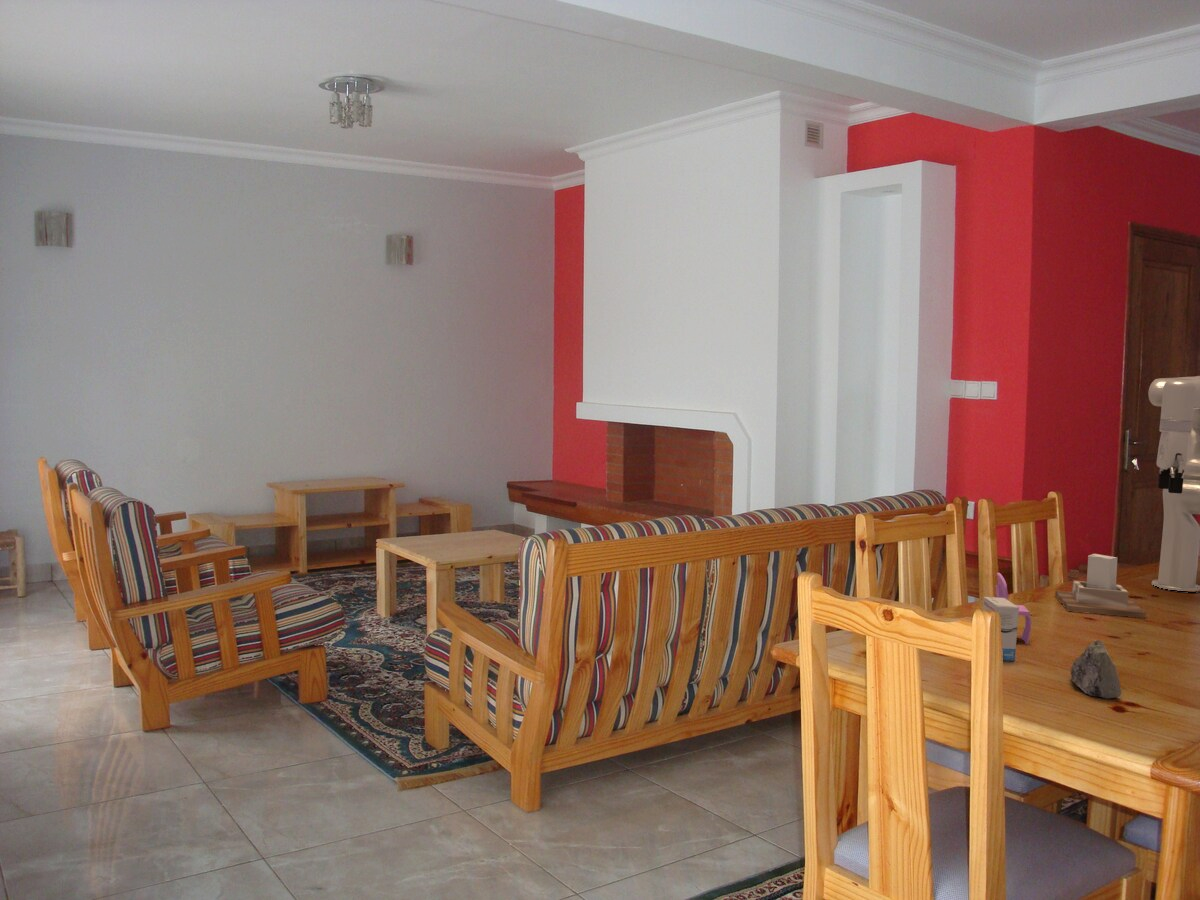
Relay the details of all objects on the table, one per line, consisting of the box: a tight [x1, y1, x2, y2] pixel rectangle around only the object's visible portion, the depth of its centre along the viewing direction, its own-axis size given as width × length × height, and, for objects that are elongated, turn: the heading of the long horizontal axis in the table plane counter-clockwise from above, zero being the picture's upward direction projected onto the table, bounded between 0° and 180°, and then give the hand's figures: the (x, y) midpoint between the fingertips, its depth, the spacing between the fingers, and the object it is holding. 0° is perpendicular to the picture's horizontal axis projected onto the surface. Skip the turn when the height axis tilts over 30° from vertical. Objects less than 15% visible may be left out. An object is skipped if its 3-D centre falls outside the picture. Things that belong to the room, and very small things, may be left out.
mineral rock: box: [1069, 639, 1122, 700], centre depth 200 cm, size 13×11×10 cm
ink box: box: [982, 596, 1020, 662], centre depth 221 cm, size 8×5×12 cm, turn 179°
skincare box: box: [1086, 553, 1118, 590], centre depth 269 cm, size 6×4×12 cm
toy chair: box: [995, 572, 1032, 645], centre depth 234 cm, size 8×9×15 cm
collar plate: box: [1054, 580, 1147, 619], centre depth 270 cm, size 18×18×6 cm
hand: (1169, 490), depth 277 cm, fingers open, 9 cm apart
